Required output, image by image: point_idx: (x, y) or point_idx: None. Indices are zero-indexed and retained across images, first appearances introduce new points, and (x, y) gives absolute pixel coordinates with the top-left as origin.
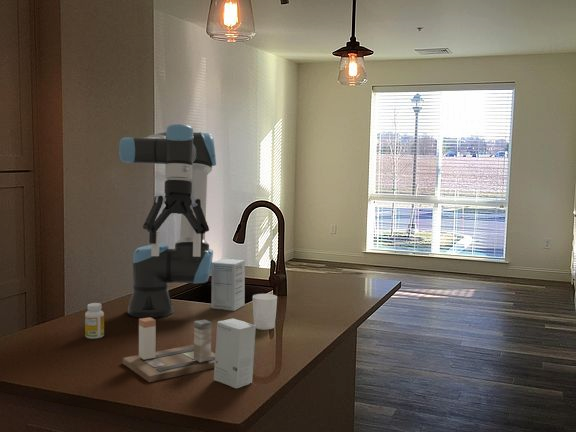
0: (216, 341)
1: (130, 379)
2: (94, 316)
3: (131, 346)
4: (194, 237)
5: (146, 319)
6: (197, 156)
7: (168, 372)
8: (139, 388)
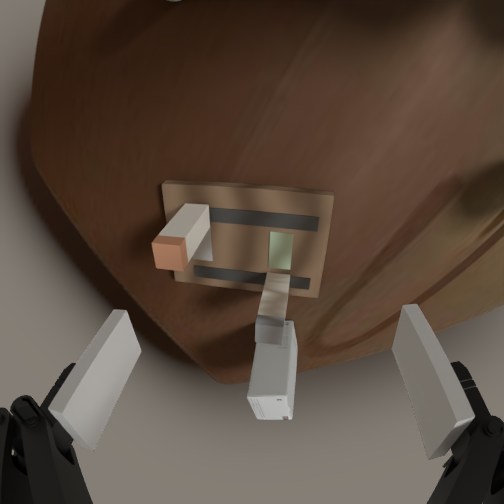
0: (252, 369)
1: None
2: None
3: (219, 88)
4: (441, 408)
5: (166, 255)
6: None
7: (206, 284)
8: (161, 282)
